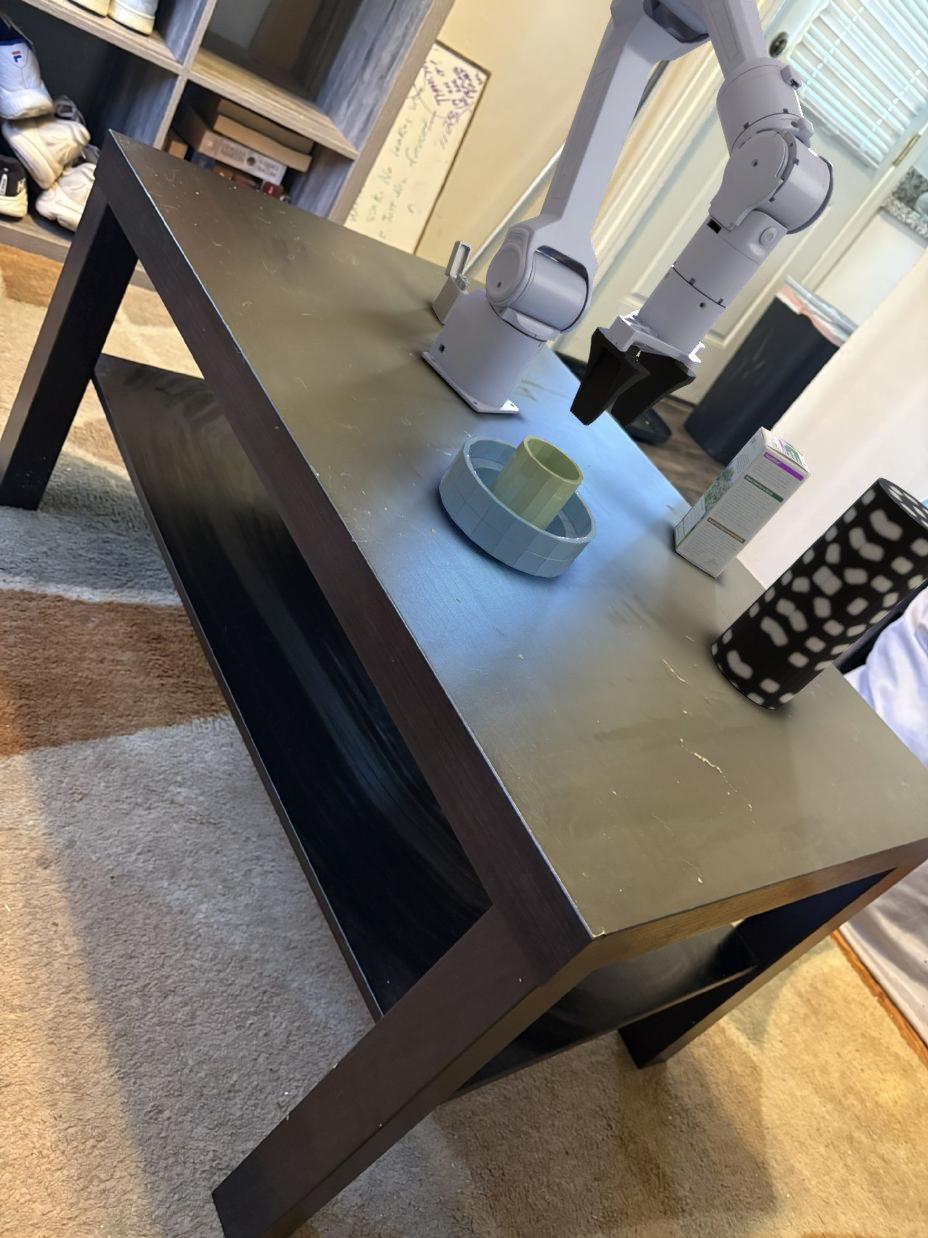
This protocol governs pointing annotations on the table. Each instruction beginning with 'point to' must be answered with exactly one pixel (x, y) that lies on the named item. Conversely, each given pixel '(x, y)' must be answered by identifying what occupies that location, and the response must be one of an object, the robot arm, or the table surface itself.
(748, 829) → the table surface
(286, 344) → the table surface
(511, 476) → the cup
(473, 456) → the bowl
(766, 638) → the spotted tube
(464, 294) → the lighter
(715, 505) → the syrup box
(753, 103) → the robot arm
